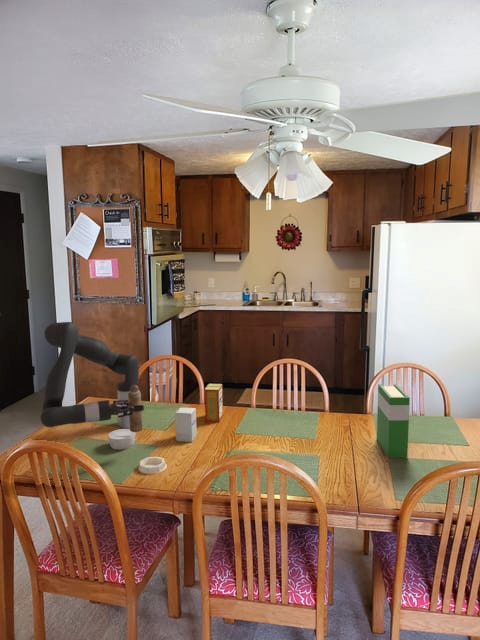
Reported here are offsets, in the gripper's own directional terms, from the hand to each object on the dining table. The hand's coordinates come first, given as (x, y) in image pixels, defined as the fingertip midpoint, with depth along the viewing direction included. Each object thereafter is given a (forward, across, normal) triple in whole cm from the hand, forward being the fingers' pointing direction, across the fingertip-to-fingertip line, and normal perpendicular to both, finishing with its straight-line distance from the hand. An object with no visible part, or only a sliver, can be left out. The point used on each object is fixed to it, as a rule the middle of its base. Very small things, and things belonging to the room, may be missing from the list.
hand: (141, 405), depth 195 cm
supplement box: (+20, +10, +21) cm, 31 cm away
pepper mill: (-3, 0, +10) cm, 10 cm away
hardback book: (+93, -34, +20) cm, 101 cm away
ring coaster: (0, -14, +20) cm, 25 cm away
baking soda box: (+39, +28, +21) cm, 52 cm away
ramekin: (-6, +13, +21) cm, 26 cm away
